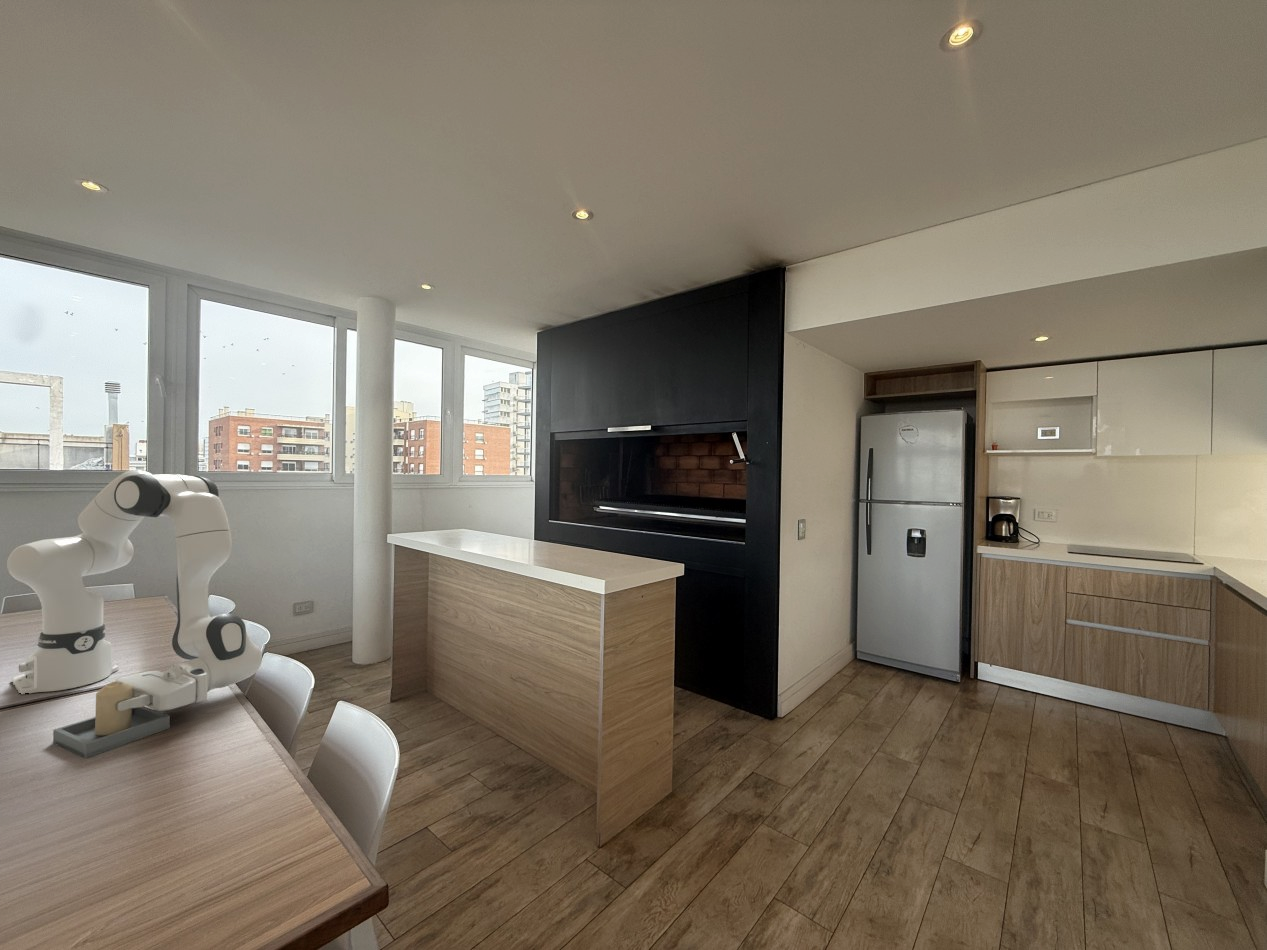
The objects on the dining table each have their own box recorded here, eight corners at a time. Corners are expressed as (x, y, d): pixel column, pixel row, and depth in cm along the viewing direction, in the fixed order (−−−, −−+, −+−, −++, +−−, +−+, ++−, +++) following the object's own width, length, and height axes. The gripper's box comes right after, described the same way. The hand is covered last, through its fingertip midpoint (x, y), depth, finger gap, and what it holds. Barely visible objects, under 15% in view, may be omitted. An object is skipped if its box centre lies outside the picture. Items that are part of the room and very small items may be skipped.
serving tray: (53, 743, 108) (53, 729, 108) (136, 715, 120) (136, 703, 120) (86, 758, 102) (86, 744, 102) (169, 728, 115) (169, 715, 115)
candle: (137, 726, 113) (138, 680, 113) (104, 738, 108) (106, 690, 108) (121, 721, 115) (122, 677, 115) (88, 733, 110) (90, 686, 110)
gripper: (161, 660, 127) (84, 680, 115) (210, 674, 119) (134, 698, 107) (160, 685, 127) (83, 708, 115) (210, 701, 119) (133, 728, 107)
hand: (108, 703), depth 110 cm, fingers closed on candle, 5 cm apart
